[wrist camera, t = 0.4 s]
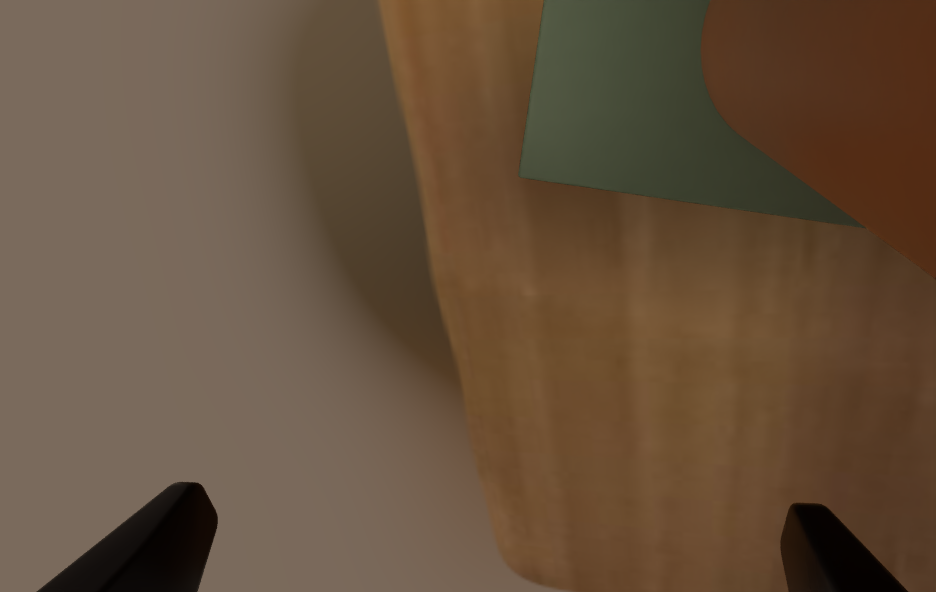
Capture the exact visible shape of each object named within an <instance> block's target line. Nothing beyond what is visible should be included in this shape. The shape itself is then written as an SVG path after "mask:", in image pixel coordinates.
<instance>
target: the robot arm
mask: <svg viewBox="0 0 936 592" xmlns="http://www.w3.org/2000/svg"><path fill="white" fill-rule="evenodd" d="M217 524H218V517H217V513H216V510H215V508H214V507H213V505H212V503H211V501H210V499H209V497H208V495H207V493H206V491H205V490H204V488H203V486H202V485H201V484H199V483H195V482H194V483H193V482H177V483H174V484H172V485H171V486H169V487H167V488H166V489H165V490H164V491H163V492H161V493H160V494H159V495H157V496H156V497H155V498H154V499H152V500H151V501H150V502H149V503H147V504H146V505H145V506H144V507H143V508H141V509H140V510H139V511H137V512H136V513H135V514H134V515H132V516H131V517H130V518H129V519H127V520H126V521H125V522H123V523H122V524H121V525H120V526H118V527H117V528H116V529H115V530H114V531H112V532H111V533H110V534H108V535H107V536H106V537H105V538H103V539H102V540H101V541H100V542H98V543H97V544H96V545H95V546H93V547H92V548H91V549H90V550H89V551H87V552H86V553H85V554H83V555H82V556H81V557H80V558H78V559H77V560H76V561H75V562H73V563H72V564H71V565H70V566H68V567H67V568H66V569H64V570H63V571H62V572H61V573H60V574H58V575H57V576H56V577H54V578H53V579H52V580H51V581H50V582H48V583H47V584H46V585H44V586H43V587H42V588H41V589H39V590H38V591H37V592H197V591H198V588H199V585H200V582H201V578H202V575H203V572H204V568H205V565H206V562H207V559H208V556H209V552H210V549H211V545H212V543H213V539H214V536H215V533H216V529H217ZM781 555H782V560H783V565H784V570H785V575H786V580H787V585H788V590H789V592H908V591H907V590H906V589H905V588H904V587H903V586H902V585H901V584H900V583H899V581H898V580H897V579H896V578H895V577H894V576H893V575H892V574H891V573H890V572H889V571H888V570H887V569H886V568H885V567H884V566H883V565H882V564H881V563H880V562H879V561H878V560H877V559H876V557H875V556H874V555H873V554H872V553H871V552H870V551H869V550H868V549H867V548H866V547H865V546H864V545H863V544H862V543H861V542H860V541H859V540H858V539H857V538H856V537H855V536H854V535H853V533H852V532H851V531H850V530H849V529H848V528H847V527H846V526H845V525H844V524H843V523H842V522H841V521H840V520H839V519H838V518H837V517H836V516H835V515H834V514H833V513H832V512H831V510H829V509H828V508H827V507H826V506H824V505H822V504H818V503H793V504H792V505H791V506H790V508H789V510H788V514H787V517H786V521H785V525H784V528H783V532H782V536H781Z"/></svg>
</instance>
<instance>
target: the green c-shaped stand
mask: <svg viewBox="0 0 936 592" xmlns="http://www.w3.org/2000/svg"><path fill="white" fill-rule="evenodd" d="M709 2H710V0H544V4H543V11H542V17H541V24H540V31H539V38H538V45H537V51H536V58H535V65H534V72H533V78H532V85H531V92H530V99H529V106H528V112H527V119H526V126H525V133H524V139H523V146H522V153H521V160H520V166H519V173H518V175H519V177H521V178H526V179H533V180H540V181H546V182H553V183H560V184H567V185H574V186H581V187H587V188H594V189H601V190H608V191H615V192H622V193H628V194H635V195H642V196H649V197H656V198H662V199H669V200H676V201H683V202H690V203H697V204H703V205H710V206H717V207H724V208H731V209H738V210H744V211H751V212H758V213H765V214H772V215H778V216H785V217H792V218H799V219H806V220H813V221H819V222H826V223H833V224H840V225H847V226H854V227H860V228H866V227H864V226H863V225H861V224H860V223H859V222H857V221H856V220H855V219H853V218H852V217H851V216H849V215H848V214H846V213H845V212H844V211H842V210H841V209H840V208H838V207H837V206H836V205H834V204H833V203H831V202H830V201H829V200H827V199H826V198H825V197H823V196H822V195H821V194H819V193H818V192H816V191H815V190H814V189H812V188H811V187H810V186H808V185H807V184H806V183H804V182H803V181H801V180H800V179H799V178H797V177H796V176H795V175H793V174H792V173H791V172H789V171H788V170H786V169H785V168H784V167H782V166H781V165H780V164H778V163H777V162H776V161H774V160H773V159H771V158H770V157H769V156H767V155H766V154H765V153H763V152H762V151H761V150H759V149H758V148H756V147H755V146H754V145H752V144H751V143H750V142H748V141H747V140H746V139H744V138H743V137H741V136H740V135H739V134H737V133H736V132H735V131H734V130H733V129H732V128H731V127H730V126H729V125H728V124H727V123H726V122H725V121H724V119H723V118H722V116H721V115H720V114H719V112H718V111H717V109H716V108H715V106H714V104H713V102H712V100H711V98H710V96H709V93H708V90H707V87H706V84H705V81H704V76H703V71H702V64H701V38H702V30H703V24H704V19H705V15H706V12H707V8H708V5H709Z"/></svg>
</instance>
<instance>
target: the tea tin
mask: <svg viewBox="0 0 936 592" xmlns="http://www.w3.org/2000/svg"><path fill="white" fill-rule="evenodd" d="M701 64H702V71H703V76H704V81H705V84H706V87H707V90H708V93H709V96H710V98H711V100H712V102H713V104H714V106H715V108H716V109H717V111H718V112H719V114H720V115H721V116H722V118H723V119H724V121H725V122H726V123H727V124H728V125H729V126H730V127H731V128H732V129H733V130H734V131H735V132H736V133H737V134H739V135H740V136H741V137H743V138H744V139H746V140H747V141H748V142H750V143H751V144H752V145H754V146H755V147H756V148H758V149H759V150H761V151H762V152H763V153H765V154H766V155H767V156H769V157H770V158H771V159H773V160H774V161H776V162H777V163H778V164H780V165H781V166H782V167H784V168H785V169H786V170H788V171H789V172H791V173H792V174H793V175H795V176H796V177H797V178H799V179H800V180H801V181H803V182H804V183H806V184H807V185H808V186H810V187H811V188H812V189H814V190H815V191H816V192H818V193H819V194H821V195H822V196H823V197H825V198H826V199H827V200H829V201H830V202H831V203H833V204H834V205H836V206H837V207H838V208H840V209H841V210H842V211H844V212H845V213H846V214H848V215H849V216H851V217H852V218H853V219H855V220H856V221H857V222H859V223H860V224H861V225H863V226H864V227H866V228H867V229H868V230H870V231H871V232H872V233H874V234H875V235H877V236H878V237H879V238H881V239H882V240H883V241H885V242H886V243H887V244H889V245H890V246H892V247H893V248H894V249H896V250H897V251H898V252H900V253H901V254H902V255H904V256H905V257H907V258H908V259H909V260H911V261H912V262H913V263H915V264H916V265H917V266H919V267H920V268H922V269H923V270H924V271H926V272H927V273H928V274H930V275H931V276H932V277H934V278H935V279H936V0H710V2H709V5H708V8H707V12H706V15H705V19H704V24H703V30H702V38H701Z"/></svg>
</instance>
